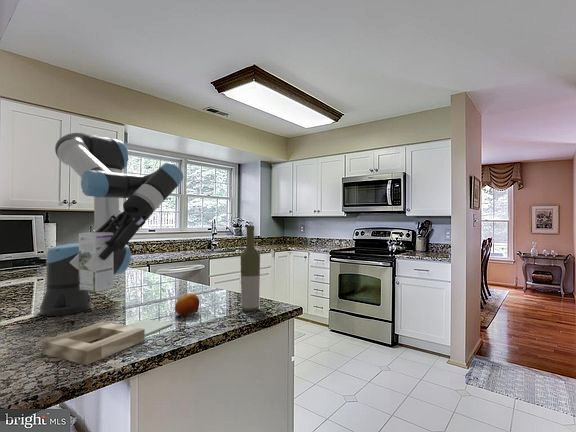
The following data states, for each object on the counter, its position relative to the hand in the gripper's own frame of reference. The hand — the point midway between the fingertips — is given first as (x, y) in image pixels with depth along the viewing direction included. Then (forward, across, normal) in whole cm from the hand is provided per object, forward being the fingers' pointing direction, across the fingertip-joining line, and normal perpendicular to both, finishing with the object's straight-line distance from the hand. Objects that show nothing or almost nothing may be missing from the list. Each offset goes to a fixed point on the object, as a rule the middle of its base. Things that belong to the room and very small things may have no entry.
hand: (81, 267), depth 80 cm
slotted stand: (+12, 0, -17) cm, 21 cm away
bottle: (-21, -11, -51) cm, 56 cm away
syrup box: (+2, 0, -7) cm, 7 cm away
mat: (+1, +2, -28) cm, 28 cm away
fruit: (-10, +3, -40) cm, 41 cm away
